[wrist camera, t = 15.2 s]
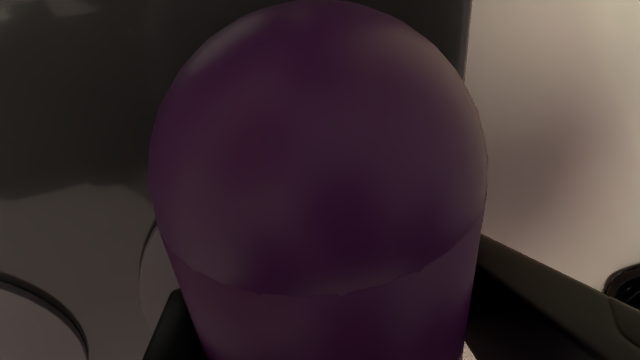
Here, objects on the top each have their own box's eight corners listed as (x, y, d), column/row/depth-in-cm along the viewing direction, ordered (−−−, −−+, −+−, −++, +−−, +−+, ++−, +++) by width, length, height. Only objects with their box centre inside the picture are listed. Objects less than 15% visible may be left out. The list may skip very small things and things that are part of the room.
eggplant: (102, -8, 7) (69, 152, 3) (398, -55, 8) (624, 29, 4) (247, 424, 14) (287, 625, 10) (393, 373, 15) (476, 541, 11)
